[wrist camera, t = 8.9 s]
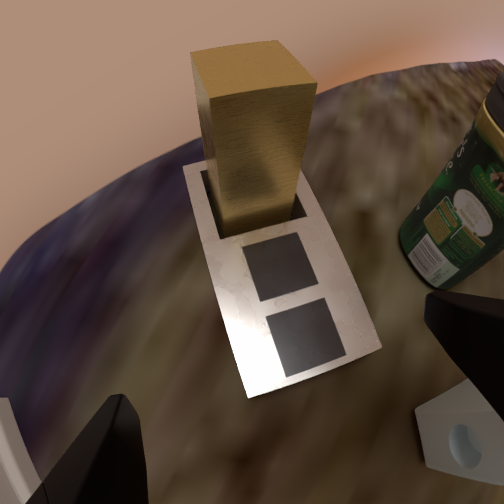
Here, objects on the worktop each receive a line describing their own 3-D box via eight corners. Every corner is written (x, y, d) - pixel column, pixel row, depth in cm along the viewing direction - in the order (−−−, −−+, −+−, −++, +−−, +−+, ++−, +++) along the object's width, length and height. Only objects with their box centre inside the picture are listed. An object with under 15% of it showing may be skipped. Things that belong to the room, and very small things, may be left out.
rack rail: (365, 353, 20) (382, 347, 18) (248, 396, 19) (248, 398, 16) (283, 165, 28) (286, 142, 25) (188, 188, 27) (182, 165, 24)
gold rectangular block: (287, 231, 25) (317, 82, 12) (227, 248, 24) (209, 98, 11) (266, 184, 27) (277, 40, 14) (211, 198, 26) (190, 52, 14)
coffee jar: (439, 194, 27) (529, 54, 10) (484, 254, 24) (603, 136, 7) (380, 233, 25) (491, 47, 8) (433, 307, 22) (604, 172, 5)
